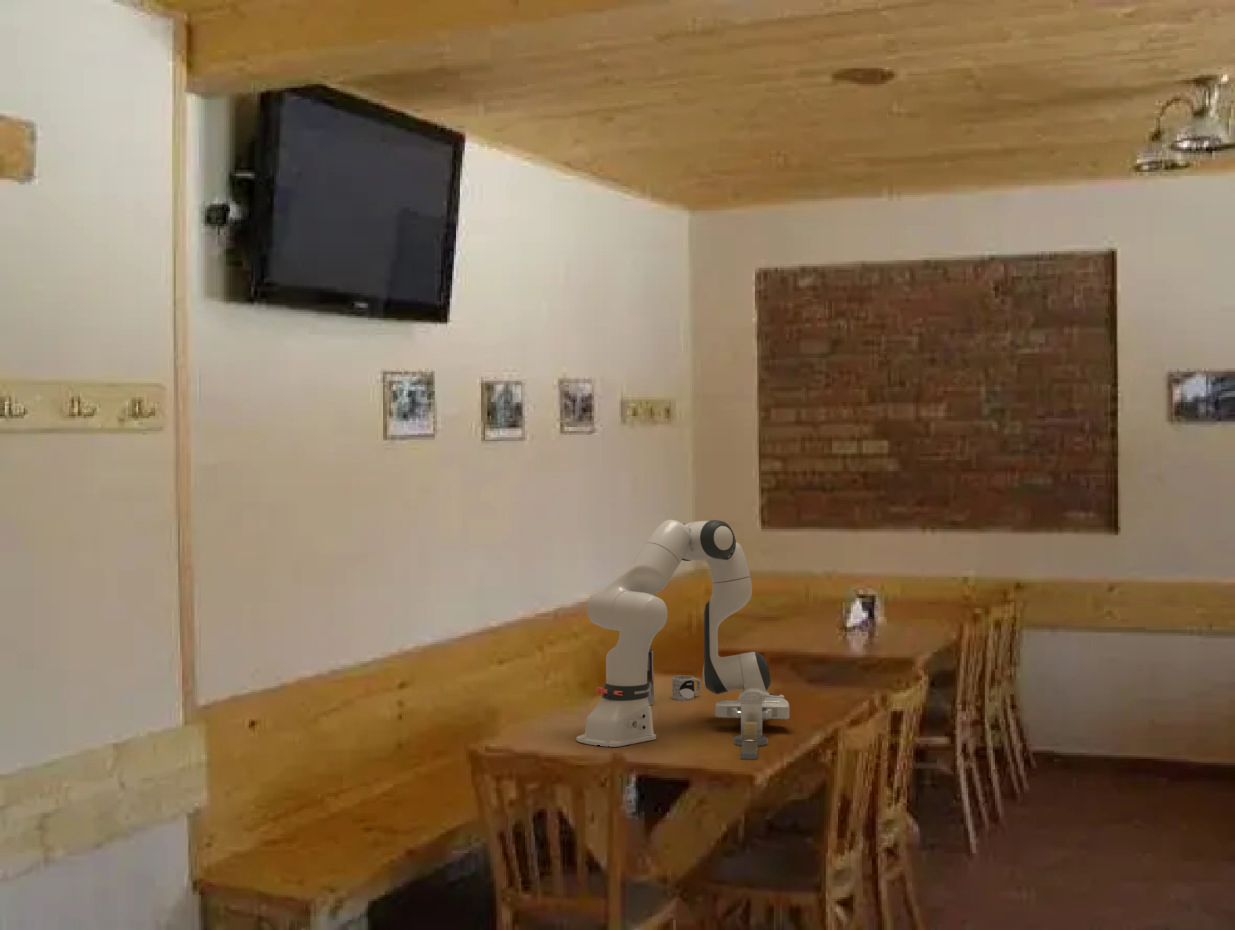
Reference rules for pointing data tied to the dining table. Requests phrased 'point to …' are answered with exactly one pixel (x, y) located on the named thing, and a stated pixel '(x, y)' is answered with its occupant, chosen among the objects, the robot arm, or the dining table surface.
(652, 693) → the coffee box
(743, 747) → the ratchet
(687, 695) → the mug
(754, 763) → the dining table surface
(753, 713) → the upright grey pillar
